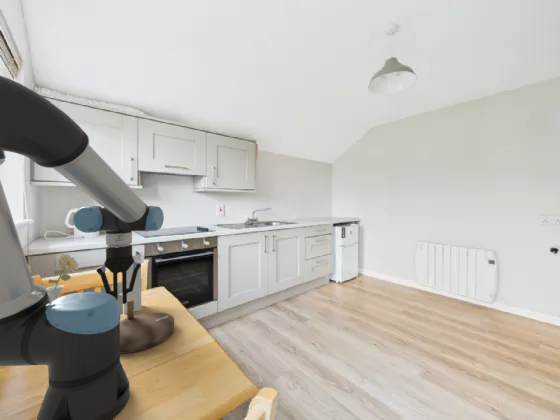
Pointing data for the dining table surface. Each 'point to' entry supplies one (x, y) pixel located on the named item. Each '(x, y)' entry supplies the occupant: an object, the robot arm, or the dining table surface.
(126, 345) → the turntable
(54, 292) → the flower in vase
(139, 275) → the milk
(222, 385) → the dining table surface
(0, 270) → the robot arm
